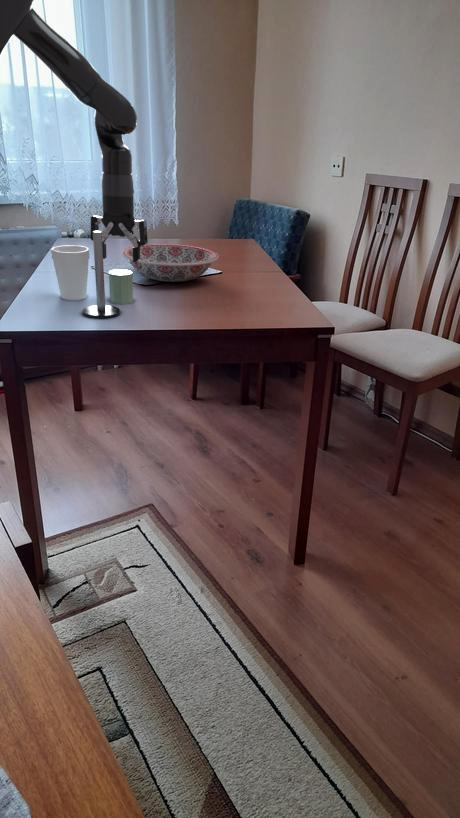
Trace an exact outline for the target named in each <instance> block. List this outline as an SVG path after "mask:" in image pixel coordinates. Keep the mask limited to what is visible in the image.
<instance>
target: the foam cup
mask: <svg viewBox="0 0 460 818" xmlns="http://www.w3.org/2000/svg"><path fill="white" fill-rule="evenodd" d="M50 253H51V259H52V263H53V267H54V271H55V275H56V280H57V284H58V288H59V293H60V297H61V299H63V300H65V301H66V300H67V301H81V300H84V299H86V298H87V291H88V276H89V262H90V257H91V256H90V255H91V254H90V248H89V247H87V246H84V245H73V244H68V245H67V244H65V245H56V246H53V247H52V248H51V249H50Z"/></svg>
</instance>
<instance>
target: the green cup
mask: <svg viewBox="0 0 460 818" xmlns="http://www.w3.org/2000/svg"><path fill="white" fill-rule="evenodd" d="M133 281H134V280H133V271H131V270H129V269H121V268H120V269H118V268H117V269H112V270H109V271H108V283H109V284H108V286H109V287H108V288H109V302H110V303H113V304H115V305H129V304H133V302H134V285H133V284H134V282H133Z"/></svg>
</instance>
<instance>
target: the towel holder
mask: <svg viewBox="0 0 460 818" xmlns="http://www.w3.org/2000/svg"><path fill="white" fill-rule="evenodd" d="M102 233H103V231H101V230H99V231H93V258H94V275H95V292H96V295H95V297H96V304H95V305H90V306H86V307H84V308H83V309H82V315H83V316H84V317H85V318H88V319H92V320H110V319H115V318H117V317H119V316H120V315H121V309H120V308H119V307H117V306H114V305H109V304H106V292H105V291H106V290H105V272H104V270H105V269H104V259H103V248H102Z"/></svg>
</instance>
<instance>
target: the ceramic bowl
mask: <svg viewBox="0 0 460 818" xmlns="http://www.w3.org/2000/svg"><path fill="white" fill-rule="evenodd" d="M133 247H134V246H133V245H132V246H130V247H127V248H125V249H123V250H122V252H121V254H122V257H123V258H125V259H127V260H128V261H129V263H130V265H131V266H132V267H133V268H134V269H135V271H136V272H138V273H139V274H140V275H142V276H144V277H145V278H147V279H151V280H153V281H158V282H166V283H167V282H168V283H180V282H188V281H192V280H195V279H197V278H199V277H201V276H203V274H204V273H206V272H207V270H208V269H209V268H210V266H211V265H212V263H214V262H216V261H218V260H219V254H218V253H217V252H215V251H214V250H211V249H208V248H205V247H199V246H194V245H186V244H178V243H177V244H176V243H149V244H148V243H147V244H145V245H144V246H141V247H140V259H139V260H138V261H137V262H133Z"/></svg>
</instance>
